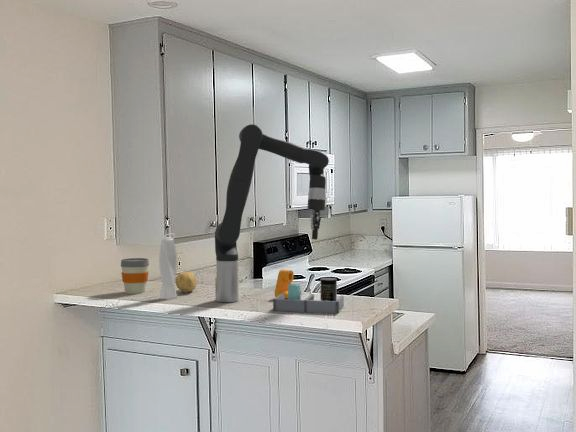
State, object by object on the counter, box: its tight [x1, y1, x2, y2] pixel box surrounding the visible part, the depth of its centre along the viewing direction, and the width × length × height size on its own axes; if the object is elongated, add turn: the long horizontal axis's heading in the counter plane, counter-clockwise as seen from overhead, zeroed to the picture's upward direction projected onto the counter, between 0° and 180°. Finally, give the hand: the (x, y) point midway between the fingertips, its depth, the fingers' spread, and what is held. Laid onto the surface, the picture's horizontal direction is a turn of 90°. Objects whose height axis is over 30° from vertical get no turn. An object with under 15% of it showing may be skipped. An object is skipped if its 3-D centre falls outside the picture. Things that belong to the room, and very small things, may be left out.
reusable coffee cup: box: [120, 257, 150, 295], centre depth 284 cm, size 13×13×15 cm
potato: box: [175, 270, 198, 293], centre depth 285 cm, size 10×14×10 cm
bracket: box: [274, 269, 295, 299], centre depth 270 cm, size 11×7×12 cm, turn 147°
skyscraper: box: [158, 232, 178, 301], centre depth 268 cm, size 8×8×28 cm
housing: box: [272, 283, 345, 314], centre depth 245 cm, size 14×26×9 cm, turn 77°
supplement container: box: [319, 277, 338, 301], centre depth 254 cm, size 7×7×10 cm
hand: (314, 239), depth 265 cm, fingers closed
